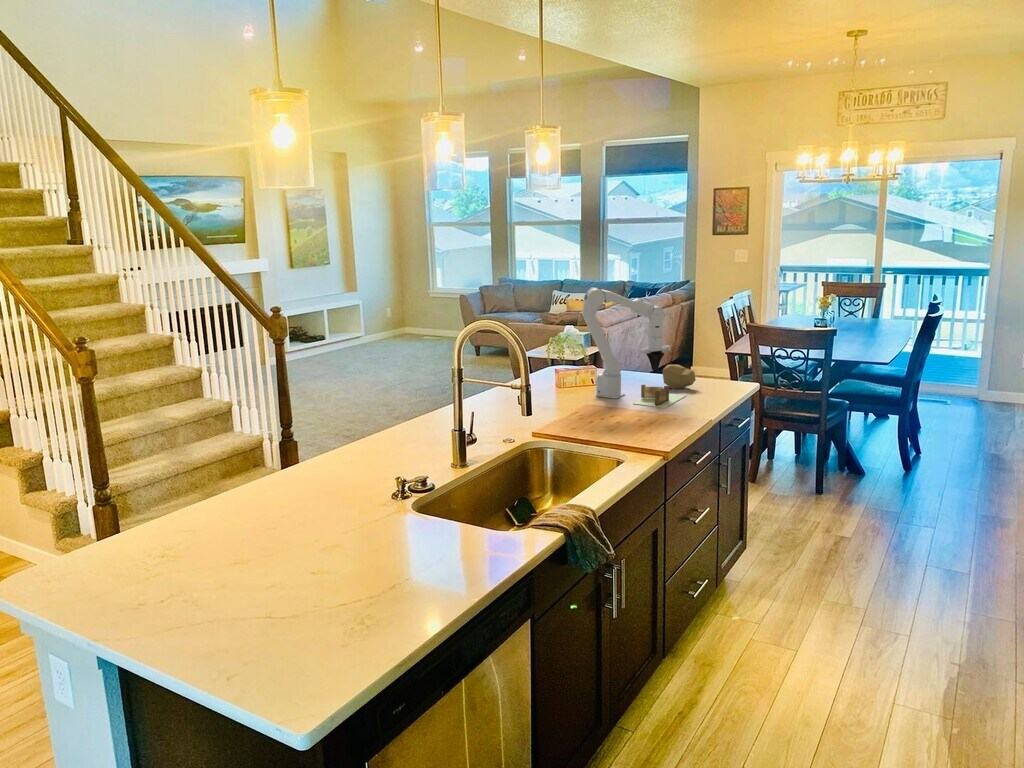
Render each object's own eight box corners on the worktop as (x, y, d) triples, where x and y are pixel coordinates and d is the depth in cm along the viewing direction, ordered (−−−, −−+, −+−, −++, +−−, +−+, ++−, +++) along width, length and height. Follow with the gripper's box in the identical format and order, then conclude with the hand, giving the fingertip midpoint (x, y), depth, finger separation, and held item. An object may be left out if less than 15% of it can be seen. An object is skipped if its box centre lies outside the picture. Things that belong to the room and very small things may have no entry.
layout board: (633, 404, 295) (633, 403, 295) (655, 392, 313) (655, 391, 313) (664, 408, 288) (665, 407, 288) (686, 396, 306) (686, 395, 306)
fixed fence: (653, 406, 292) (654, 391, 290) (664, 399, 300) (665, 385, 299) (658, 406, 290) (658, 391, 289) (669, 400, 299) (670, 386, 298)
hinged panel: (662, 398, 300) (663, 385, 299) (662, 399, 299) (662, 386, 298) (641, 396, 303) (641, 384, 302) (640, 397, 302) (640, 385, 301)
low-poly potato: (654, 387, 323) (661, 380, 312) (659, 363, 326) (666, 355, 315) (688, 396, 323) (697, 389, 312) (693, 372, 326) (701, 365, 315)
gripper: (662, 333, 311) (661, 366, 314) (634, 337, 303) (634, 370, 306) (674, 335, 305) (673, 369, 308) (646, 339, 298) (646, 373, 301)
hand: (654, 370), depth 307 cm, fingers closed
